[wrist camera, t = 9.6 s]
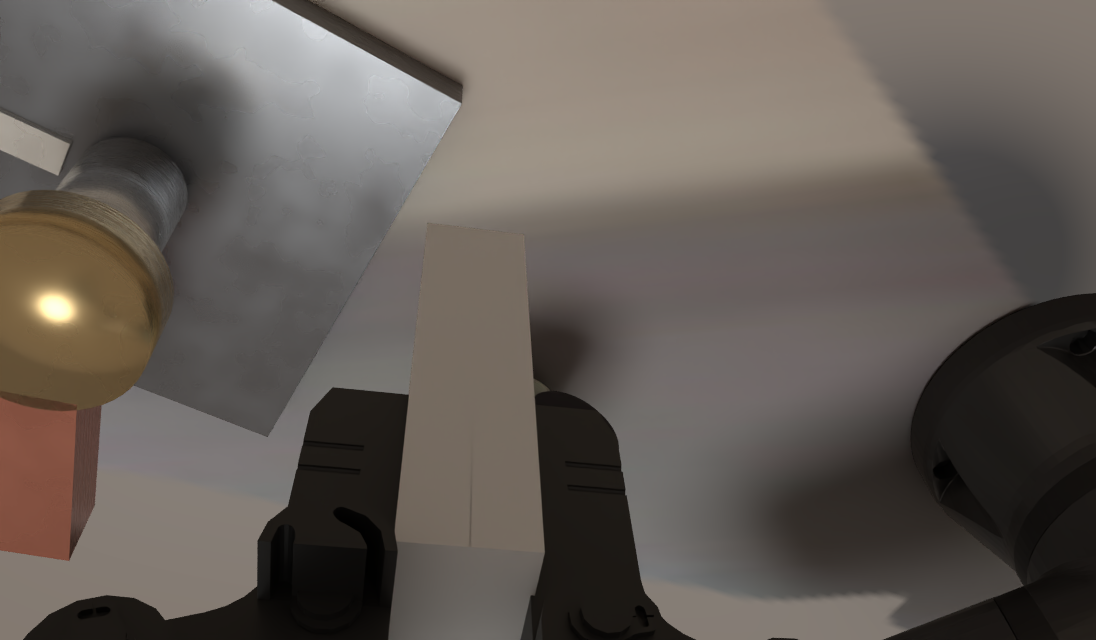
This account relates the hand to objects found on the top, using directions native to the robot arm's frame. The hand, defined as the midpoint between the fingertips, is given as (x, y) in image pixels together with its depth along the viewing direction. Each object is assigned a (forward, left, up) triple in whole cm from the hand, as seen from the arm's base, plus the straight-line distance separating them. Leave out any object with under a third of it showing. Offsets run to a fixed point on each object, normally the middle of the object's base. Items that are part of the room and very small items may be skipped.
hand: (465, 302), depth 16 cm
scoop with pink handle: (+7, +19, -17) cm, 27 cm away
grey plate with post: (+8, +16, -26) cm, 31 cm away
